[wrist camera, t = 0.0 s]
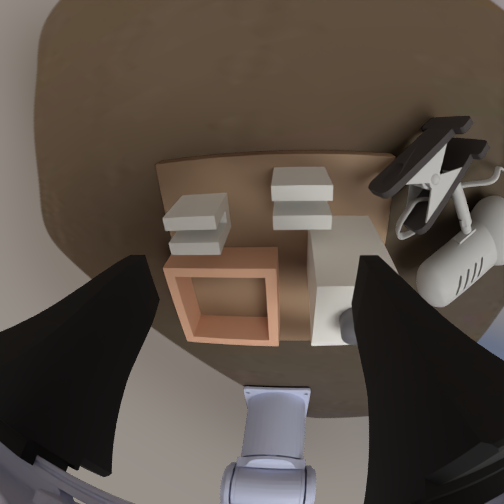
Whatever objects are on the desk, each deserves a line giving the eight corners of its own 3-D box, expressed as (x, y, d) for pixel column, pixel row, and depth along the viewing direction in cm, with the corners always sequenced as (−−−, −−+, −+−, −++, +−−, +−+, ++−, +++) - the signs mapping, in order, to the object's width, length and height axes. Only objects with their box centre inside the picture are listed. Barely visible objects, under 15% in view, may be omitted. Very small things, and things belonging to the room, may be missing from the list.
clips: (323, 225, 18) (329, 254, 15) (188, 227, 19) (171, 255, 16) (324, 166, 16) (333, 185, 13) (178, 173, 17) (156, 192, 14)
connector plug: (361, 266, 19) (387, 356, 12) (306, 267, 20) (311, 360, 13) (368, 215, 17) (410, 299, 10) (307, 215, 18) (318, 302, 11)
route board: (360, 330, 24) (362, 338, 23) (201, 328, 26) (199, 336, 25) (390, 153, 15) (395, 157, 15) (161, 160, 18) (155, 164, 17)
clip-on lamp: (496, 76, 12) (347, 168, 16) (548, 72, 6) (399, 181, 10) (531, 193, 16) (410, 303, 19) (576, 211, 10) (452, 352, 13)
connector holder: (280, 322, 23) (278, 346, 21) (195, 319, 24) (187, 341, 22) (277, 246, 19) (276, 268, 17) (175, 248, 20) (162, 267, 18)
